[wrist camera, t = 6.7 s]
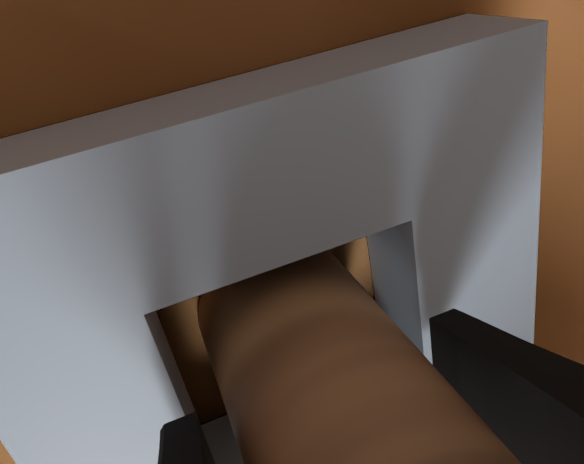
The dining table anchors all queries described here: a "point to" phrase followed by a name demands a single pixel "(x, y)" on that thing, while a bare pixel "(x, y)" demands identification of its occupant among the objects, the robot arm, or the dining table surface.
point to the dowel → (332, 376)
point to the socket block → (262, 218)
